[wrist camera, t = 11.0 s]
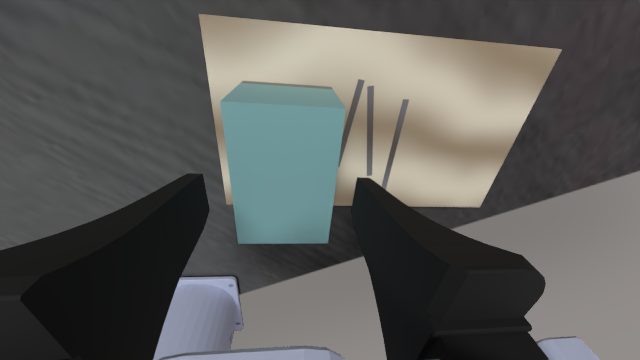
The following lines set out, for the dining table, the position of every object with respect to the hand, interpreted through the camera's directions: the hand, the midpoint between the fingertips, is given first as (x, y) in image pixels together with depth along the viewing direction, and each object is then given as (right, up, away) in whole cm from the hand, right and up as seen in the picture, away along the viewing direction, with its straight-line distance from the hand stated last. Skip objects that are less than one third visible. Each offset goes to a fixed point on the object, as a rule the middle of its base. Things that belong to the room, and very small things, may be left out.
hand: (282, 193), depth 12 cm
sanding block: (0, +3, +5) cm, 6 cm away
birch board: (+5, +4, +6) cm, 9 cm away
